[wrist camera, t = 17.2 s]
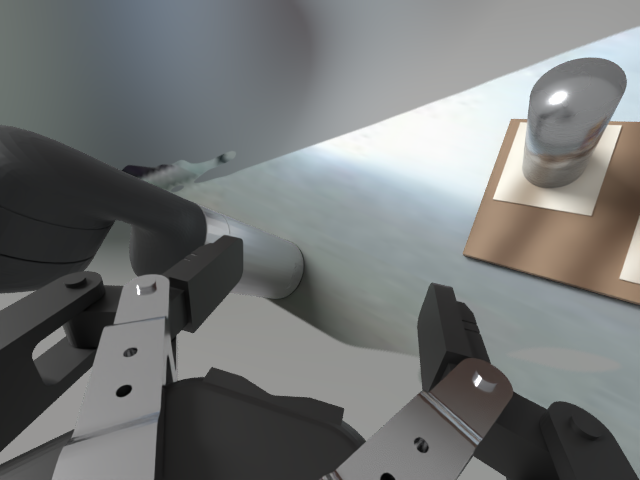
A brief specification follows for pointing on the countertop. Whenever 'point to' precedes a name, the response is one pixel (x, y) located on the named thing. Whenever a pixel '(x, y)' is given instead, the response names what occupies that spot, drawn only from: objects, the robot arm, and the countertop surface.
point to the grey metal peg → (569, 119)
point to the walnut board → (566, 217)
